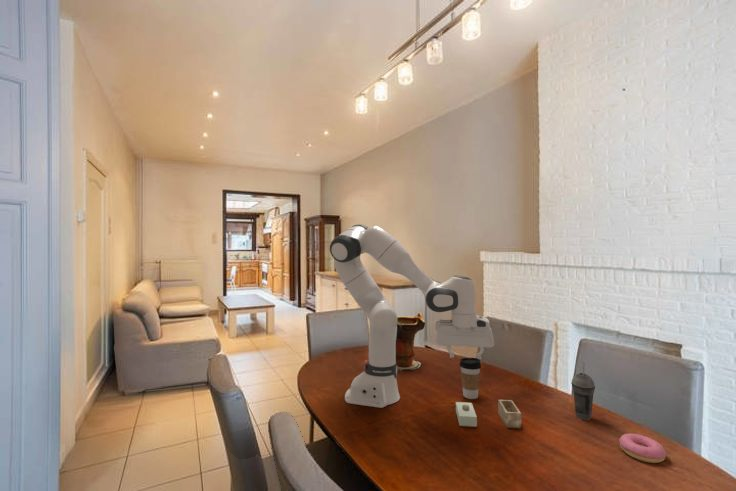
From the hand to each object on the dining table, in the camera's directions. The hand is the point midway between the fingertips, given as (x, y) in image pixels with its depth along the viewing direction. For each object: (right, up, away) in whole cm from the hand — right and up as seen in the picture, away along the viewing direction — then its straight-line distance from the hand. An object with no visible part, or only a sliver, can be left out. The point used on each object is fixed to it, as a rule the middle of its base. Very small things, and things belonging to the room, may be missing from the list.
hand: (465, 358), depth 125 cm
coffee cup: (+7, -21, +16) cm, 27 cm away
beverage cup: (+42, -21, -2) cm, 47 cm away
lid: (0, -21, -2) cm, 21 cm away
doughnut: (+46, -21, -24) cm, 55 cm away
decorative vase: (-17, -22, +54) cm, 61 cm away
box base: (+14, -21, -4) cm, 26 cm away
